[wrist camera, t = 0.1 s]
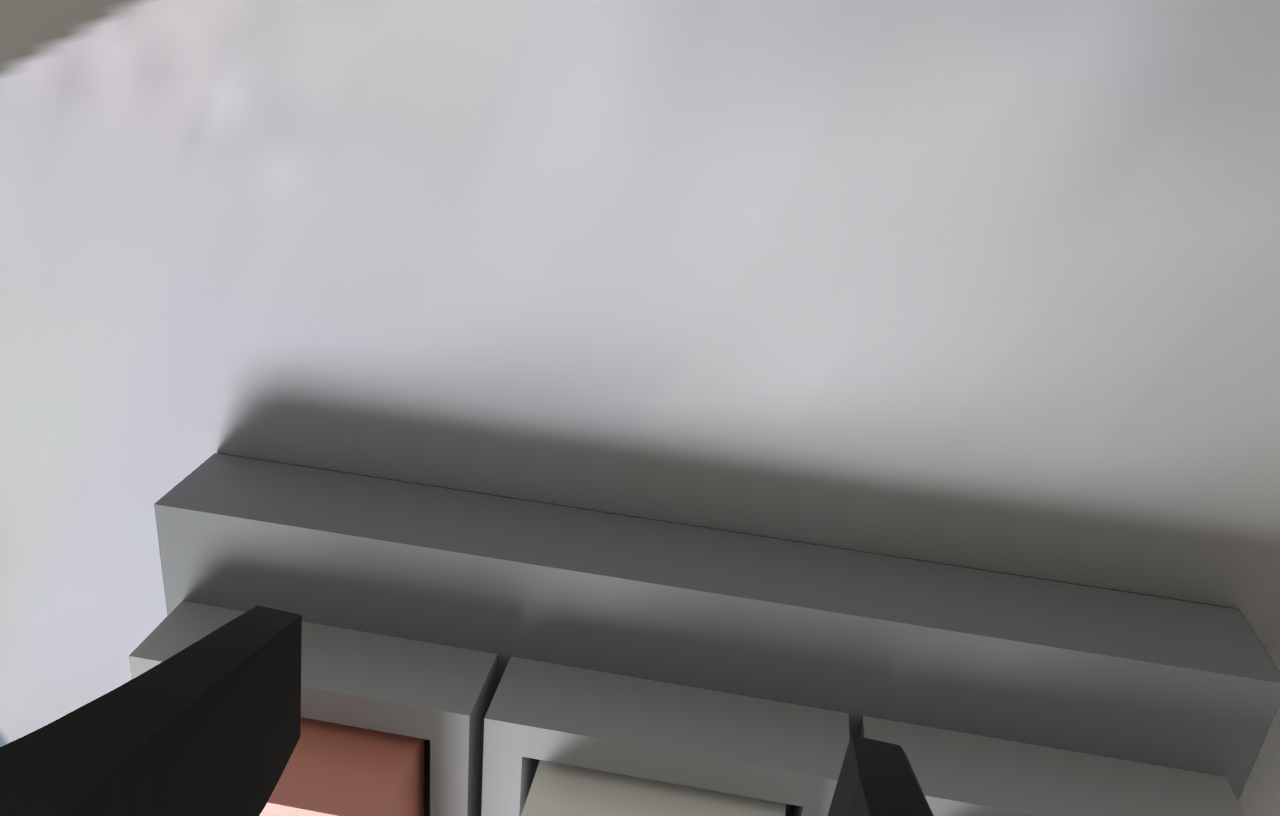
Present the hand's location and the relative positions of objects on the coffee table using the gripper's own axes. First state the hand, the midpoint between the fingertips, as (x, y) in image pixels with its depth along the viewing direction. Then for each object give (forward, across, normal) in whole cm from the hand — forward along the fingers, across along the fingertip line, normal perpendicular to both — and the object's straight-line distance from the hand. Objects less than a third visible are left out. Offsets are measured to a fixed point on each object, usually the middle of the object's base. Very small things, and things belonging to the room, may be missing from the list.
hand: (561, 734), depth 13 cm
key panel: (+10, -2, +8) cm, 13 cm away
